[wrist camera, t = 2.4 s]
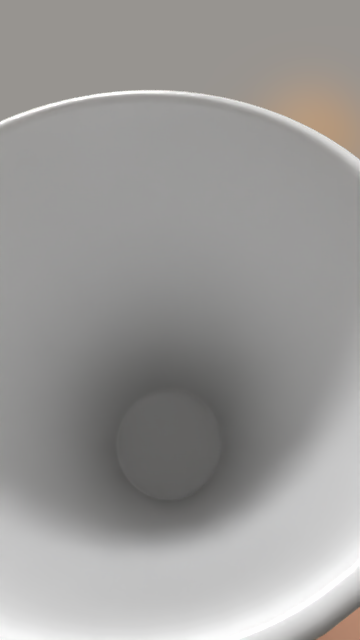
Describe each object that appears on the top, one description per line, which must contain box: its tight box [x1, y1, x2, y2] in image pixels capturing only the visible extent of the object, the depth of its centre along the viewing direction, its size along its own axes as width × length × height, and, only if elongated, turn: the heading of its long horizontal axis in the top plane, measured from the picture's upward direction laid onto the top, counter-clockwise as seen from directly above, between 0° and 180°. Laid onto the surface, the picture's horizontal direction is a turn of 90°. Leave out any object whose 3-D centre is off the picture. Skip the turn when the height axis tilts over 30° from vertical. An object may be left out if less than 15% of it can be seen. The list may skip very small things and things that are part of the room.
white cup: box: [0, 90, 360, 640], centre depth 10 cm, size 7×7×15 cm
